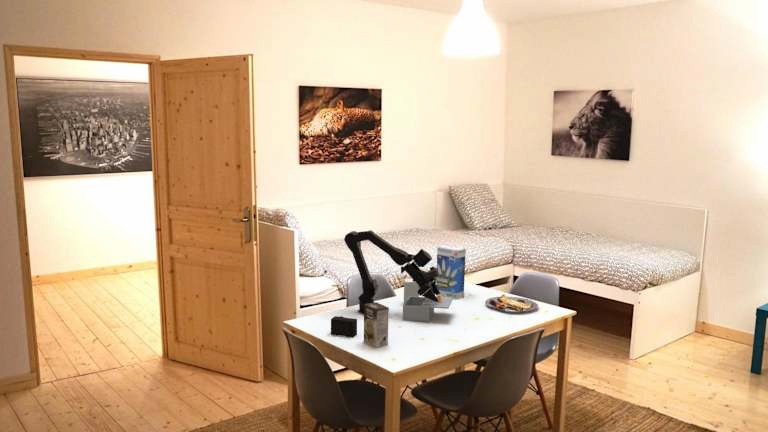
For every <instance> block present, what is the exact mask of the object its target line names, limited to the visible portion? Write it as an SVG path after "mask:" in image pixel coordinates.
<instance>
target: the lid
mask: <svg viewBox="0 0 768 432" xmlns="http://www.w3.org/2000/svg"><path fill="white" fill-rule="evenodd" d="M436 297H437V299H438V300H439V301H438V302H435V301H433V300H431V299H428V298H425V299H424V301H423V303H422V305H421V307H430V308H434V309H444V310H445V309H447V310H449V309H450V306H451V304H452V302H453V300H454V299H453V298H449V297H443V296H442V294H438V295H436Z"/></svg>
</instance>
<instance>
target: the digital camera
mask: <svg viewBox="0 0 768 432" xmlns="http://www.w3.org/2000/svg"><path fill="white" fill-rule="evenodd" d="M330 335H332V336H338V335H339V337H345V336H346V337H347V338H355V337H356V336H357V335H358V319H357V318H351V317H345V316H341V315H340V316H333V317H332V318H330Z"/></svg>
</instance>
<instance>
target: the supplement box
mask: <svg viewBox="0 0 768 432" xmlns="http://www.w3.org/2000/svg"><path fill="white" fill-rule="evenodd" d="M412 280H413V279H412V278H404V279H403V304H404V303H405V302H406V300H407V299H408V297H409V296H413V297H420V295H419V294H418V289H419V285H418V284H417V283H416V282H413V281H412Z"/></svg>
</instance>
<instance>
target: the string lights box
mask: <svg viewBox="0 0 768 432" xmlns="http://www.w3.org/2000/svg"><path fill="white" fill-rule="evenodd" d="M436 248H437V250H436V254H437V255H436V268H437V269H438V273H439V275H438V276H437V277H435V278H436V279H435V280H436V286H437V288H438V290H439V292H440V293H441V294H442V297H449V298H453V299H452V300H458V299H462V298H464V297H465V276H466V275H465V271H466V270H465V269H466V252H467V251H466V250H467V249H466V247H464V248H463V247H460V246H454V245H448V244H443V245H439V246H437V247H436Z"/></svg>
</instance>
